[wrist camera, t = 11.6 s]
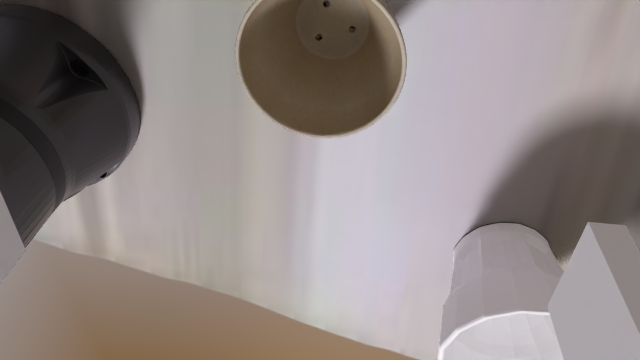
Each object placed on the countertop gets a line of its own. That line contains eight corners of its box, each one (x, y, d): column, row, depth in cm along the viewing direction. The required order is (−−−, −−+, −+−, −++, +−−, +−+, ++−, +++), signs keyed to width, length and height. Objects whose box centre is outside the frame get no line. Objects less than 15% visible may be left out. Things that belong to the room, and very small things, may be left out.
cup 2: (402, 264, 49) (403, 368, 40) (495, 180, 42) (520, 284, 33) (504, 319, 52) (524, 427, 43) (607, 248, 45) (657, 361, 36)
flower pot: (365, -88, 31) (358, -60, 26) (428, 53, 36) (433, 103, 31) (232, -12, 35) (200, 27, 29) (305, 106, 40) (289, 159, 34)
